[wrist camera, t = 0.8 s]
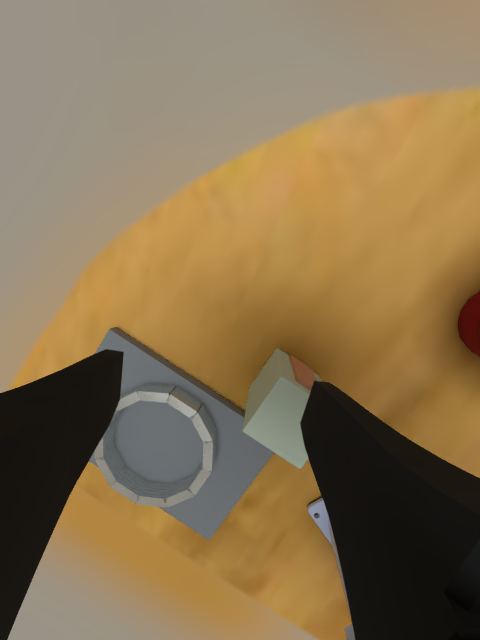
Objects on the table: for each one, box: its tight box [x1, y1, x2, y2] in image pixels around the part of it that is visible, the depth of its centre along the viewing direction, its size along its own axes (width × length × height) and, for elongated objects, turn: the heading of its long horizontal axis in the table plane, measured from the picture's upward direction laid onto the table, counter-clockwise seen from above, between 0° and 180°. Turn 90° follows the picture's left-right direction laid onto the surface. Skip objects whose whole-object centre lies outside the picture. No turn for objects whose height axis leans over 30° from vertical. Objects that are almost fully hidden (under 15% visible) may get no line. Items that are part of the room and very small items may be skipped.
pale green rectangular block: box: [242, 348, 322, 469], centre depth 22 cm, size 4×5×8 cm
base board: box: [89, 327, 274, 540], centre depth 27 cm, size 18×12×1 cm, turn 57°
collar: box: [94, 383, 217, 508], centre depth 25 cm, size 13×10×2 cm
